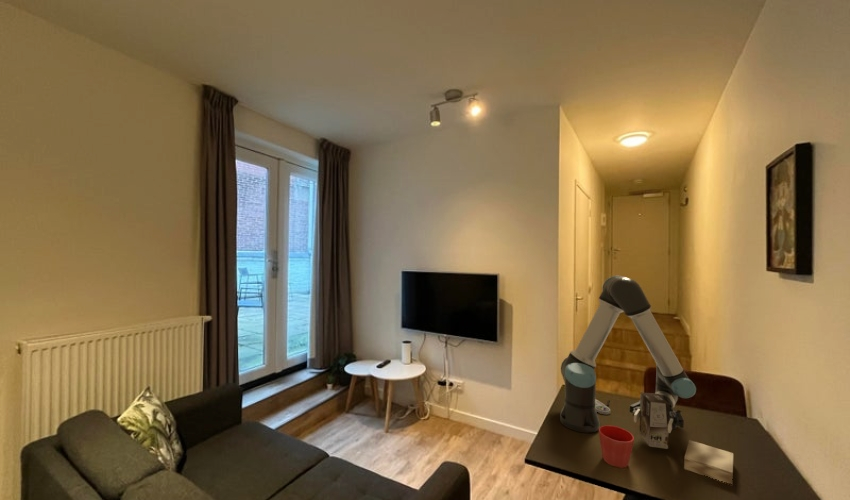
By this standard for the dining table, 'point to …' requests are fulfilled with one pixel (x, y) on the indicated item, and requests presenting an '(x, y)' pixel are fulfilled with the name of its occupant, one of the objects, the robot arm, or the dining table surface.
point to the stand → (709, 461)
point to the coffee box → (654, 420)
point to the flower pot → (616, 445)
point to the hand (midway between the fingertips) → (651, 423)
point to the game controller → (602, 407)
